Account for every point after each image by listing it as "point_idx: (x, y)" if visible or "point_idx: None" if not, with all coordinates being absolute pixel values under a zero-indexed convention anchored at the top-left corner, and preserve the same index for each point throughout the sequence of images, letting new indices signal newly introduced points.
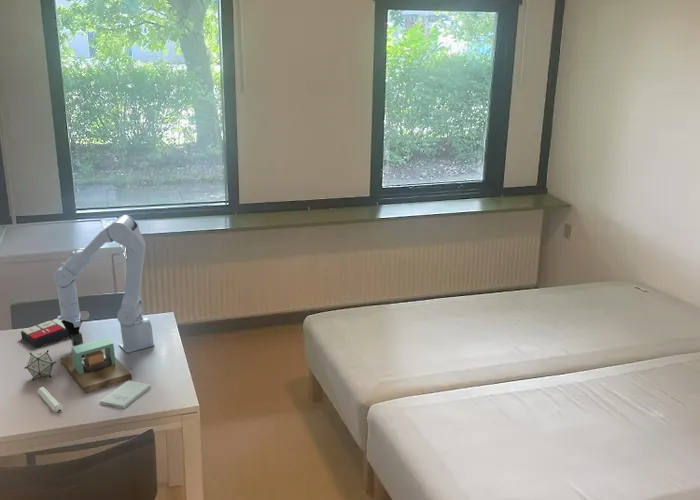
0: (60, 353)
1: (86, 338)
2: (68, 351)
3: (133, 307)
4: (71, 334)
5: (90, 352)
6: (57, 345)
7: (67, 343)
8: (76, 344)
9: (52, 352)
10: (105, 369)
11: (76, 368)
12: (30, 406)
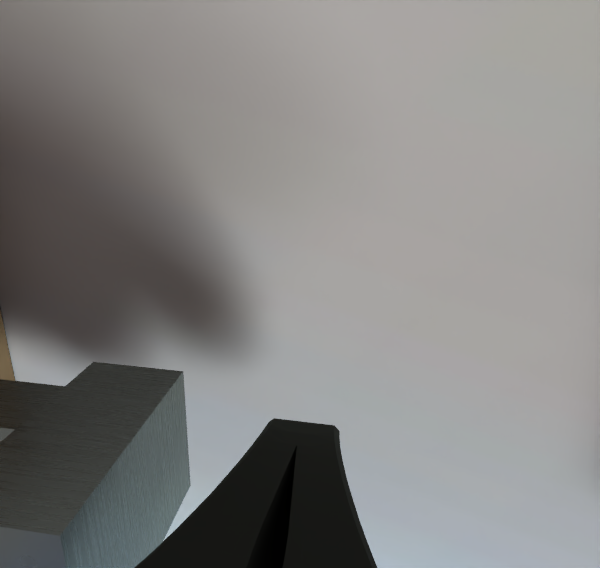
0: (276, 184)
1: (485, 558)
2: (269, 287)
3: None
4: (24, 539)
5: None
6: (585, 243)
7: (531, 367)
8: (23, 417)
9: (391, 99)
10: None
11: None
12: None
